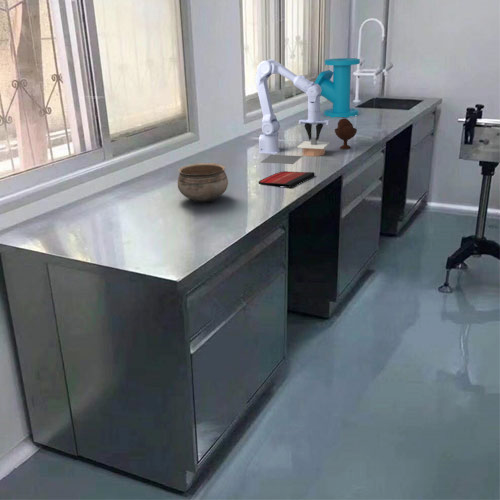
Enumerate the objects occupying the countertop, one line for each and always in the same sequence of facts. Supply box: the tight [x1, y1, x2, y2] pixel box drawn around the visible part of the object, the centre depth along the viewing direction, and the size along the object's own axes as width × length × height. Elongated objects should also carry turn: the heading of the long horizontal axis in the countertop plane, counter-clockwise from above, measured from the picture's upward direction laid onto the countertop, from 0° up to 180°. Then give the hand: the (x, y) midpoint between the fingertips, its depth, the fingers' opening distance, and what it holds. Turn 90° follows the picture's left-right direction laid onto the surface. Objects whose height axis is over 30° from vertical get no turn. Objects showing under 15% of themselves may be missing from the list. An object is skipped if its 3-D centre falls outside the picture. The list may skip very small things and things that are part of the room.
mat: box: [260, 154, 303, 165], centre depth 275 cm, size 16×16×1 cm
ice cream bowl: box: [334, 117, 358, 150], centre depth 292 cm, size 11×11×15 cm
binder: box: [258, 170, 315, 189], centre depth 243 cm, size 16×2×21 cm
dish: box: [302, 147, 326, 157], centre depth 283 cm, size 10×10×4 cm
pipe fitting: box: [314, 57, 361, 118], centre depth 383 cm, size 22×32×35 cm
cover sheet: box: [296, 137, 331, 149], centre depth 281 cm, size 13×13×4 cm
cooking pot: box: [177, 162, 229, 204], centre depth 219 cm, size 25×19×12 cm
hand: (313, 139), depth 281 cm, fingers open, 3 cm apart
